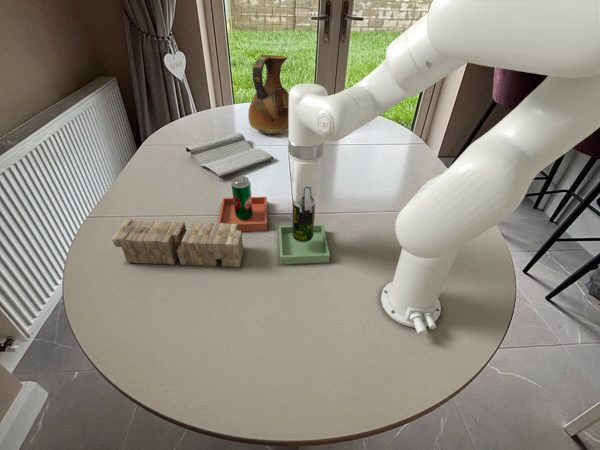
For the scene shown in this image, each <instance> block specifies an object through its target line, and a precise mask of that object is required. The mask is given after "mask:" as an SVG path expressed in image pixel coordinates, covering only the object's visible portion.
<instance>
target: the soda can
mask: <svg viewBox="0 0 600 450" xmlns="http://www.w3.org/2000/svg"><path fill="white" fill-rule="evenodd" d="M231 192H232V198H233V201H234V209H235V216H236V217H237V218H238V219H240V220H247V219H249V218H250V217H251V216H252V215H253V209H252V197H253V196H252V186H251V181H250V179H249V178H248V177H247V176H244V175H238V176H235V177H233V178H232V181H231Z"/></svg>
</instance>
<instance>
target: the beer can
mask: <svg viewBox="0 0 600 450" xmlns="http://www.w3.org/2000/svg"><path fill="white" fill-rule="evenodd" d="M302 198H304V197H302ZM303 206H304V202H302V207H303ZM298 210H300V202H295V201H294V199H293V198H292V220H291V221H292V224H291V226H292V235H293V238H294V239H295V240H296V241H297V242H299V243H307V242H309V241H310V240H311V239H312V238H313V233H314V225H315V215H316V200H315V201H314V202H313V201H312V224H310V225H299V224H298Z"/></svg>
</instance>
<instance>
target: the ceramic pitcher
mask: <svg viewBox="0 0 600 450" xmlns="http://www.w3.org/2000/svg"><path fill="white" fill-rule="evenodd" d="M287 59H288V57H287V56H283V55H279V54H278V55H277V54H275V55H270V54H260V55H259V57H258V58H257V59H256V60H255V62H254V63H253V66H252V83H253V85H254V89H255V94H254V96H253V98H252V99H251V102H250V105H249V107H248V123H249V126H250V127H251V128H253V129H254V130H257V131H259V132H260V133H264V134H270V135H274V134H275V135H276V134H280V133H282V132H285V131H287V130H288V131H289V92H288V91H287V90H286V88H284V87H283V85H282V82H281V81H282V80H281V72H282V65H283V64H284V63H285V62H286V61H287ZM264 66H265V70H266V71H265V72H266V78H265V82H264V81H263V69H264Z"/></svg>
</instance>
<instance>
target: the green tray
mask: <svg viewBox="0 0 600 450" xmlns="http://www.w3.org/2000/svg"><path fill="white" fill-rule="evenodd" d="M278 241H279V243H278V244H279V257H280V258H279V260H280V261H279V262H280V263H279V264H280V265H298V264H299V265H300V264H302V265H303V264H321V263H323V264H325V263H330V259H331V254H330V249H329V245H328V240H327V234H326V230H325V226H324V224H314V233H313V238H312V239H311V240H310V241H309V242H307V243H299V242H297V241H296V240H295V239H294V238H293V235H292V225H279V226H278Z"/></svg>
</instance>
